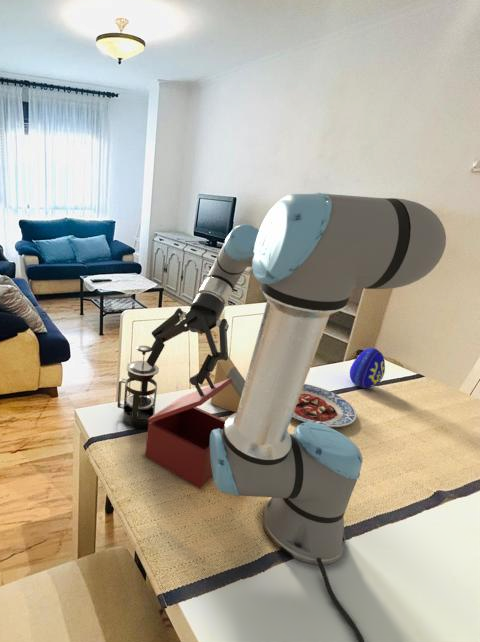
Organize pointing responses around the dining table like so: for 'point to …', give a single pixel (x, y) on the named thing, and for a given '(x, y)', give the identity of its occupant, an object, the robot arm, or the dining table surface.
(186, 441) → the red hinged lid box
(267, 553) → the dining table surface
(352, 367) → the ornament
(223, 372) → the sandwich container
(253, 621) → the dining table surface
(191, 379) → the box lid
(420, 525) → the dining table surface
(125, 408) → the french press
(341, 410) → the ceramic plate
